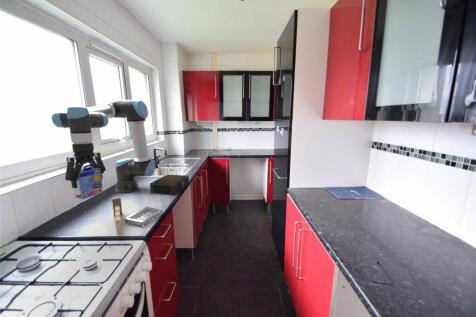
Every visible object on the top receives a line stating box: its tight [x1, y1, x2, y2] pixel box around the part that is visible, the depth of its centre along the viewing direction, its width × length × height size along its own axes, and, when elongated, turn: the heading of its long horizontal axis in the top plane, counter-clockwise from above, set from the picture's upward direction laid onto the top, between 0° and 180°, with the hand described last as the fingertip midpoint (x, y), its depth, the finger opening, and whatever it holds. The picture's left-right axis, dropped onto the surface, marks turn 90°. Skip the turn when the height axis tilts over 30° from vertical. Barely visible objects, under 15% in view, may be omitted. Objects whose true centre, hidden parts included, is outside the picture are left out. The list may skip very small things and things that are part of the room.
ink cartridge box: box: [74, 164, 104, 200], centre depth 93 cm, size 10×6×14 cm, turn 164°
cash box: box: [149, 174, 190, 196], centre depth 154 cm, size 25×20×8 cm
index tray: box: [124, 206, 163, 227], centre depth 108 cm, size 15×11×2 cm
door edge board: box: [111, 196, 123, 235], centre depth 102 cm, size 24×4×10 cm, turn 31°
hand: (89, 190), depth 94 cm, fingers closed on ink cartridge box, 10 cm apart
